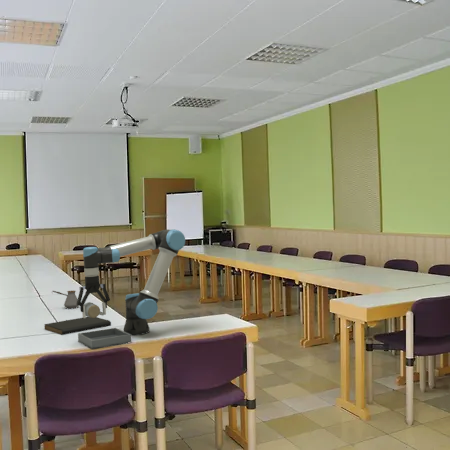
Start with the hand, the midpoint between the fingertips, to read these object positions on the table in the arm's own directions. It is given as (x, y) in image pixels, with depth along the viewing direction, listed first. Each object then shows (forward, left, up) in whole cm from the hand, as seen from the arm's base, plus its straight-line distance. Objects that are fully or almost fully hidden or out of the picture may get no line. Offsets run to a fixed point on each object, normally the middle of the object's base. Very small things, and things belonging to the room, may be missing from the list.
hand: (94, 316), depth 282 cm
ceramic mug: (0, 0, -1) cm, 1 cm away
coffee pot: (-21, -122, -15) cm, 125 cm away
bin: (-5, 0, -15) cm, 16 cm away
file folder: (-6, -49, -16) cm, 52 cm away
